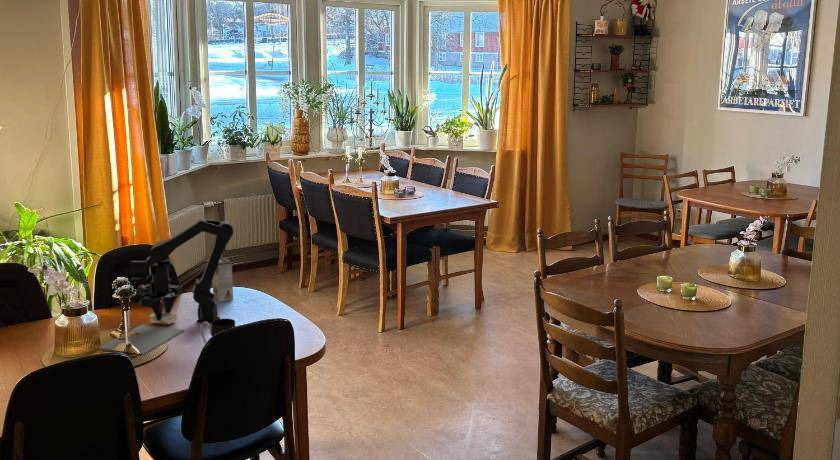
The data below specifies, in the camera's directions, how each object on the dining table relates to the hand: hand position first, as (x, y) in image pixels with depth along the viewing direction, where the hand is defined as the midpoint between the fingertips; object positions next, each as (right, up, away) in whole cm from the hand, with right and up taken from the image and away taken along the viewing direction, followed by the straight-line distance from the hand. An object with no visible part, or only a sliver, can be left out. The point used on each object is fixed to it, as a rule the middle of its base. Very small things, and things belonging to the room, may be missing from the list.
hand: (163, 317), depth 290 cm
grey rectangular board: (-2, -6, -16) cm, 17 cm away
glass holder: (+30, -11, -37) cm, 49 cm away
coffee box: (+15, +5, +31) cm, 34 cm away
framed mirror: (0, -1, 0) cm, 1 cm away
